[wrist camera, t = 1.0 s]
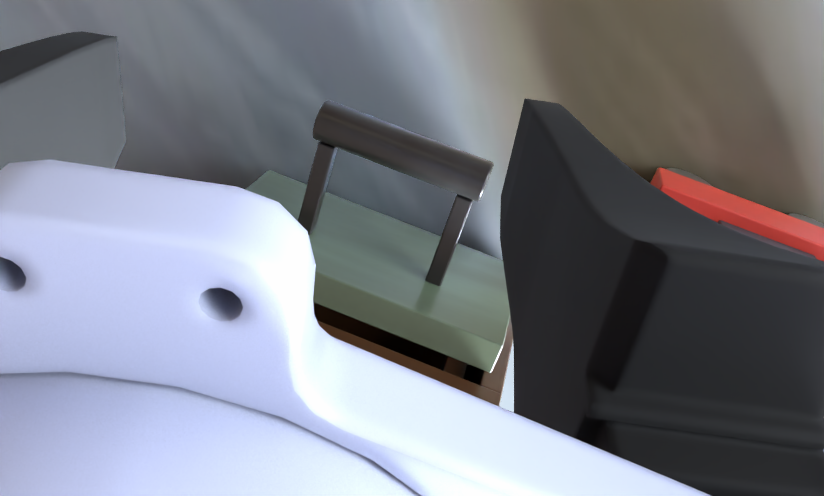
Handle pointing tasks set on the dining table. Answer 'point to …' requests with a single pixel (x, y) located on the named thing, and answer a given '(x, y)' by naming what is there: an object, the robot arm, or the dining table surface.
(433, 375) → the cabinet
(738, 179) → the dining table surface
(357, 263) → the drawer
